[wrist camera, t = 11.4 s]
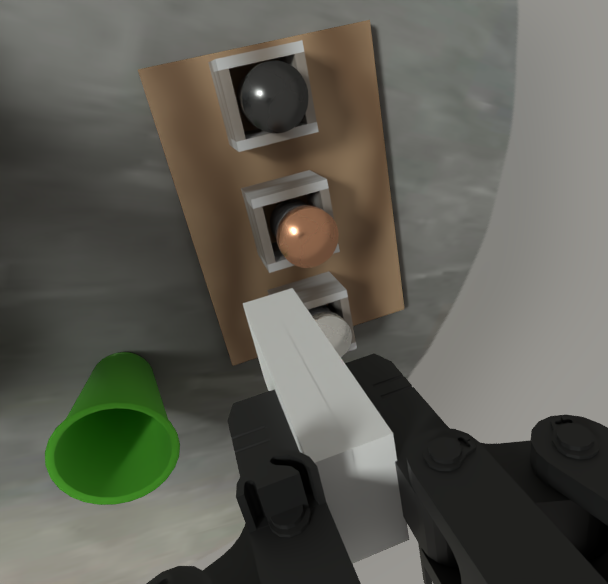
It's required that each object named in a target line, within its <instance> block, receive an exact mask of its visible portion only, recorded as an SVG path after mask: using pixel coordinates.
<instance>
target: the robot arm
mask: <svg viewBox="0 0 608 584" xmlns="http://www.w3.org/2000/svg"><path fill="white" fill-rule="evenodd" d="M243 307H244V310H245V314H246V317H247V321H248V324H249V328H250V331H251V335H252V338H253V341H254V345H255V348H256V352H257V355H258V359H259V362H260V366H261V369H262V373H263V376H264V380H265V382H266V385H267V388H268V390H269V391H268V392H266V393H263V394H260V395H257V396H254V397H251V398H248V399H245V400H242V401H239V402H237V403H234V404H233V406H232V409H231V412H230V415H229V418H228V424H229V428H230V433H231V437H232V442H233V446H234V451H235V455H236V460H237V464H238V469H239V473H240V479H239V481H238V483H237V491H236V498H237V501H238V504H239V506H240V509H241V512H242V514H243V517H244V520H245V522H246V523H245V527H244V529H243V531H242V533H241V535H240V537H239V538H238V540H237V541H236V542H235V544H234V545H233V546H232V547H231V548H230V549H229V550H228V551H227V552H226V553H225V554H224V555H223V556H221V557H220V558H219V559H217V560H216V561H215V562H213V563H212V564H211V565H209V566H208V567H207V568H206V569H204V570H203V571H202V570H200V569H198V568H196V567H194V566H177V567H175V568H172V569H169V570H166V571H164V572H162V573H160V574H159V575H157V576H156V577H155V578H153V579H152V580H151V581H149V582H148V583H147V584H360V581H359V579H358V576H357V574H356V572H355V569H354V567H353V563H355V562H357V561H360V560H362V559H364V558H367V557H369V556H371V555H374V554H376V553H378V552H381V551H383V550H386V549H388V548H390V547H393V546H395V545H398V544H400V543H402V542H405V541H407V540H409V535H408V529H407V524H408V525H409V527H410V529H411V530H412V532H413V534H414V536H415V537H416V539H417V541H418V543H419V550H420V558H421V565H422V572H423V579H424V583H425V584H432V582H433V583H434V584H608V428H607V427H605V426H603V425H601V424H600V423H597V422H594V421H592V420H589V419H587V418H584V417H579V416H572V415H559V416H550V417H548V418H546V419H544V420H541V421H539V422H538V423H537V424H536V425H535V427H534V428H533V429H532V433H531V441H522V442H511V443H501V444H485V443H480V442H478V441H477V440H476V439H474V438H473V437H472V436H470V435H469V434H467V433H464V432H462V431H459V430H456V429H450V428H449V427H448V426H447V425H446V424H445V423H444V422H443V421H442V420H441V418H440V417H439V416H438V415H437V414H436V413H435V411H434V410H433V409H432V408H431V407H430V406H429V405H428V403H427V402H426V401H425V400H424V399H423V398H422V397H421V396H420V394H419V393H418V392H417V391H416V390H415V388H414V387H413V388H412V385H411V384H410V383H409V381H408V380H407V379H406V378H405V377H403V375H402V373H401V372H400V371H399V370H398V369H397V368H396V366H395V365H394V364H393V363H392V362H391V361H389V360H387V359H384V358H382V357H380V356H378V355H376V354H372V355H369V356H366V357H363V358H360V359H357V360H354V361H351V362H348V363H344V362H343V360H342V359H341V357H340V356H339V354H338V353H337V352H336V350H335V349H334V347H333V346H332V344H331V343H330V341H329V340H328V339H327V337H326V336H325V334H324V333H323V331H322V330H321V328H320V327H319V326H318V324H317V323H316V321H315V320H314V318H313V317H312V315H311V314H310V313H309V311H308V310H307V308H306V307H305V305H304V304H303V302H302V301H301V300H300V298H299V297H298V295H297V294H296V292H295V291H294V289H293V288H291V289H288V290H285V291H281V292H278V293H275V294H272V295H268V296H265V297H262V298H259V299H255V300H252V301H249V302H246V303H243Z"/></svg>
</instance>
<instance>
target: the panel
mask: <svg viewBox="0 0 608 584" xmlns="http://www.w3.org/2000/svg"><path fill="white" fill-rule="evenodd" d="M268 61H282V62H285V63H288V64H290V65H291V66H293V67H294V68H295V69H297V70H298V71H299V73H300V74H301V75H302V77H303V78H304V80H305V82H306V85H307V89H308V107H307V110H306V113H305V115H304V117H303V119H302V120H301V121H300V123H299V124H298V125H297V126H295V127H294V128H293V129H291V130H289V131H287V132H284V133H269V132H266V131H263V130H261V129H259V128H257V127H255V126H254V125H253V124H252V123H251V122H250V121H249V120H248V119H247V117H246V116H245V115H244V114H243V112H242V111H241V109H240V107H239V105H238V101H237V90H238V86H239V84H240V82H241V80H242V79H243V78H244V77H245V76H246V75H247V74H248V72H249V71H250V70H251V69H252V68H254V67H255V66H257V65H259V64H261V63H264V62H268ZM138 72H139V75H140V78H141V81H142V84H143V87H144V91H145V94H146V97H147V100H148V103H149V106H150V109H151V112H152V116H153V119H154V122H155V125H156V128H157V131H158V134H159V137H160V141H161V144H162V147H163V150H164V153H165V156H166V159H167V162H168V166H169V169H170V172H171V175H172V178H173V181H174V184H175V187H176V190H177V194H178V197H179V200H180V203H181V206H182V209H183V212H184V215H185V219H186V222H187V225H188V228H189V231H190V234H191V237H192V240H193V244H194V247H195V250H196V253H197V256H198V259H199V262H200V265H201V269H202V272H203V275H204V278H205V281H206V284H207V287H208V290H209V294H210V297H211V300H212V303H213V306H214V309H215V312H216V315H217V319H218V322H219V325H220V328H221V331H222V334H223V337H224V340H225V344H226V347H227V350H228V353H229V356H230V359H231V362H232V365H233V366H234V365H237V364H240V363H243V362H246V361H249V360H252V359H255V358H258V355H257V352H256V348H255V345H254V341H253V338H252V335H251V331H250V328H249V324H248V321H247V317H246V314H245V310H244V307H243V303H246V302H249V301H252V300H255V299H259V298H262V297H265V296H268V295H272V294H275V293H278V292H281V291H285V290H288V289H291V288H293V289H294V291H295V292H296V294H297V295H298V297H299V298H300V300H301V301H302V302H303V304H304V305H305V307H306V308H307V310H309V309H312V308H315V307H318V306H321V305H324V304H326V306H327V307H328V308H329V309H330V311H331V312H332V313H335V314H338V315H339V316H341V317H342V318H343V319H344V321H345V322H346V323H347V324H348V326H349V327H350V329H351V333H352V341H351V345H350V347H349V349H348V351H351V350H354V349H357V346H356V340H355V335H354V329H353V326H355V325H358V324H361V323H364V322H367V321H370V320H373V319H376V318H379V317H382V316H385V315H388V314H391V313H394V312H397V311H400V310H403V309H404V301H403V293H402V285H401V276H400V268H399V260H398V251H397V243H396V235H395V226H394V218H393V210H392V201H391V193H390V185H389V176H388V168H387V160H386V151H385V143H384V135H383V126H382V118H381V110H380V101H379V93H378V85H377V76H376V68H375V60H374V51H373V43H372V35H371V26H370V20H367V21H362V22H358V23H353V24H348V25H344V26H339V27H334V28H330V29H325V30H320V31H316V32H311V33H306V34H302V35H297V36H292V37H288V38H283V39H278V40H274V41H269V42H264V43H260V44H255V45H250V46H246V47H241V48H236V49H232V50H227V51H222V52H218V53H213V54H208V55H204V56H199V57H194V58H190V59H185V60H180V61H176V62H171V63H166V64H162V65H157V66H152V67H148V68H143V69H138ZM290 199H296V200H300V201H302V202H304V203H305V204H307V205H312V206H316V207H319V208H321V209H322V210H324V211H325V212H326V213H328V214H329V215H330V216H331V217H332V218H333V219H334V221H335V222H336V225H337V227H338V233H339V239H338V244H337V247H336V249H335V251H334V253H333V254H332V256H331V257H330V258H329V259H328V260H327V261H325V262H324V263H322V264H320V265H318V266H316V267H311V268H302V267H298V266H295V265H293V264H292V263H290V262H289V261H288V260H287V259H286V258H285V257H284V255H283V254H282V253H281V251H280V249H279V247H278V244H277V238H276V237H275V236H274V234H273V233H272V231H271V227H270V218H271V214H272V212H273V210H274V209H275V208H276V206H277V205H279V204H280V203H281V202H283V201H286V200H290ZM348 351H347V352H348Z"/></svg>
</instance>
